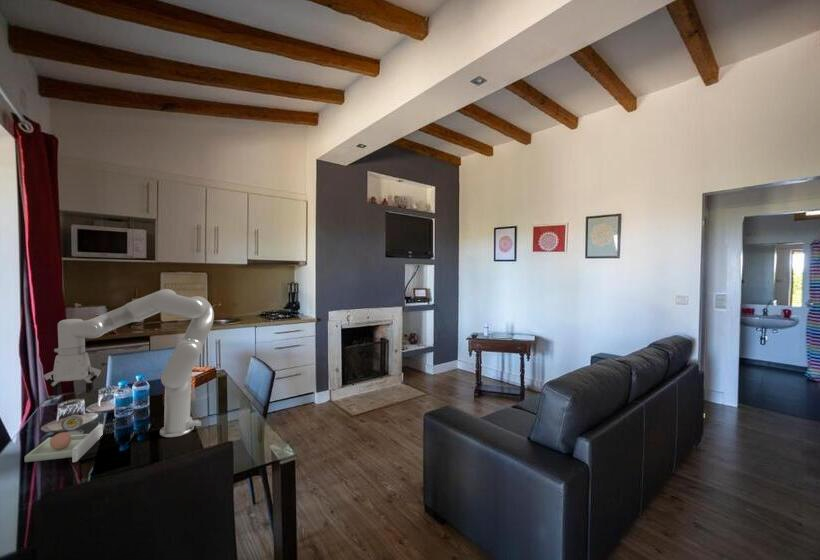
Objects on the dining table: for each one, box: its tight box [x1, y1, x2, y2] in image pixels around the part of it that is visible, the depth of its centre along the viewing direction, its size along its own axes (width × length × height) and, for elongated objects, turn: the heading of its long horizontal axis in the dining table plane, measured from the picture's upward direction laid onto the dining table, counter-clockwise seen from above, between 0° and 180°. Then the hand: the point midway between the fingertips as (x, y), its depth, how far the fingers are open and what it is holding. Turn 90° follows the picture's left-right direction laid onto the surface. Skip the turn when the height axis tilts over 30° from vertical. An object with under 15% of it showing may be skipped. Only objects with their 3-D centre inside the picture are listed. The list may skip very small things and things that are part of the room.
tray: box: [24, 433, 89, 463], centre depth 137 cm, size 14×14×2 cm
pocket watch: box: [61, 408, 84, 435], centre depth 148 cm, size 8×8×10 cm
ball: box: [50, 431, 72, 449], centre depth 137 cm, size 6×6×6 cm
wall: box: [71, 423, 104, 463], centre depth 139 cm, size 1×20×5 cm, turn 20°
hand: (73, 393), depth 140 cm, fingers open, 9 cm apart
